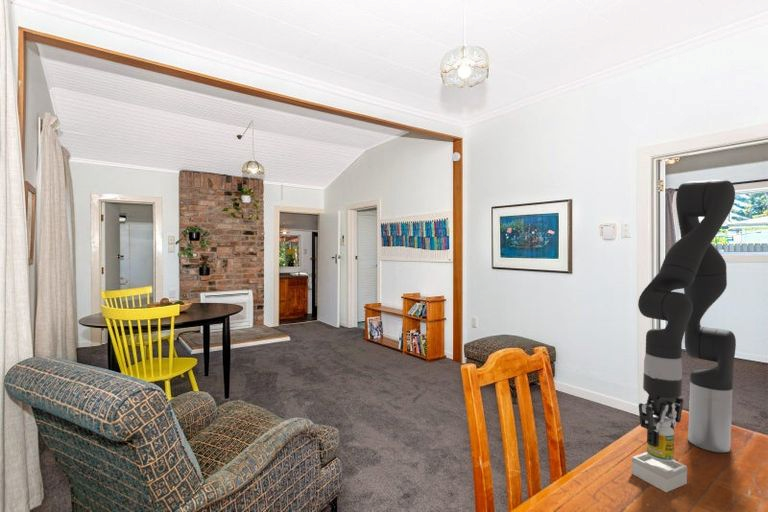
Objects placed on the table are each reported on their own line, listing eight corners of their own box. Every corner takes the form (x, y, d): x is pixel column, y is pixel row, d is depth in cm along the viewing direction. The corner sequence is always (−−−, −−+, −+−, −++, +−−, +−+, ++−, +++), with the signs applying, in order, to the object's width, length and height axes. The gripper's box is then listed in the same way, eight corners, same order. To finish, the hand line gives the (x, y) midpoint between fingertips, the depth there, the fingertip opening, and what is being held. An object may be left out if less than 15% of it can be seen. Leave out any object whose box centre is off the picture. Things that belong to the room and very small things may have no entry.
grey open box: (651, 465, 100) (652, 449, 100) (686, 483, 93) (687, 466, 93) (631, 473, 97) (632, 456, 97) (666, 492, 90) (666, 474, 89)
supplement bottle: (652, 448, 98) (653, 411, 98) (677, 458, 94) (678, 419, 93) (642, 454, 95) (643, 416, 95) (667, 465, 91) (669, 424, 90)
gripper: (663, 365, 100) (661, 430, 101) (627, 372, 94) (625, 441, 95) (697, 374, 93) (694, 443, 94) (660, 383, 87) (658, 457, 88)
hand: (660, 442), depth 94 cm, fingers closed on supplement bottle, 5 cm apart
